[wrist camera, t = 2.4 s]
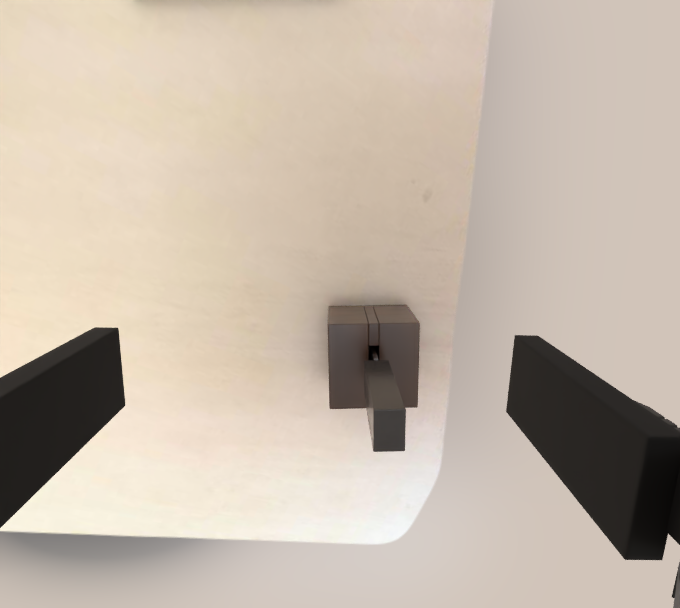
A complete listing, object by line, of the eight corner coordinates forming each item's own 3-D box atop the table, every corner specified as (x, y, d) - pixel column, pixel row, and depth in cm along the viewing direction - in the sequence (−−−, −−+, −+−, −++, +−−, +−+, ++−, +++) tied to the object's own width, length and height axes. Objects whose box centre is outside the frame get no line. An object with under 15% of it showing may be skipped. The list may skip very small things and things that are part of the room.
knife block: (407, 304, 40) (419, 322, 35) (405, 378, 42) (417, 407, 36) (328, 306, 40) (327, 324, 34) (330, 380, 42) (329, 409, 36)
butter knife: (377, 328, 41) (405, 407, 25) (377, 357, 41) (404, 453, 26) (357, 328, 41) (373, 408, 25) (358, 357, 41) (373, 453, 26)
